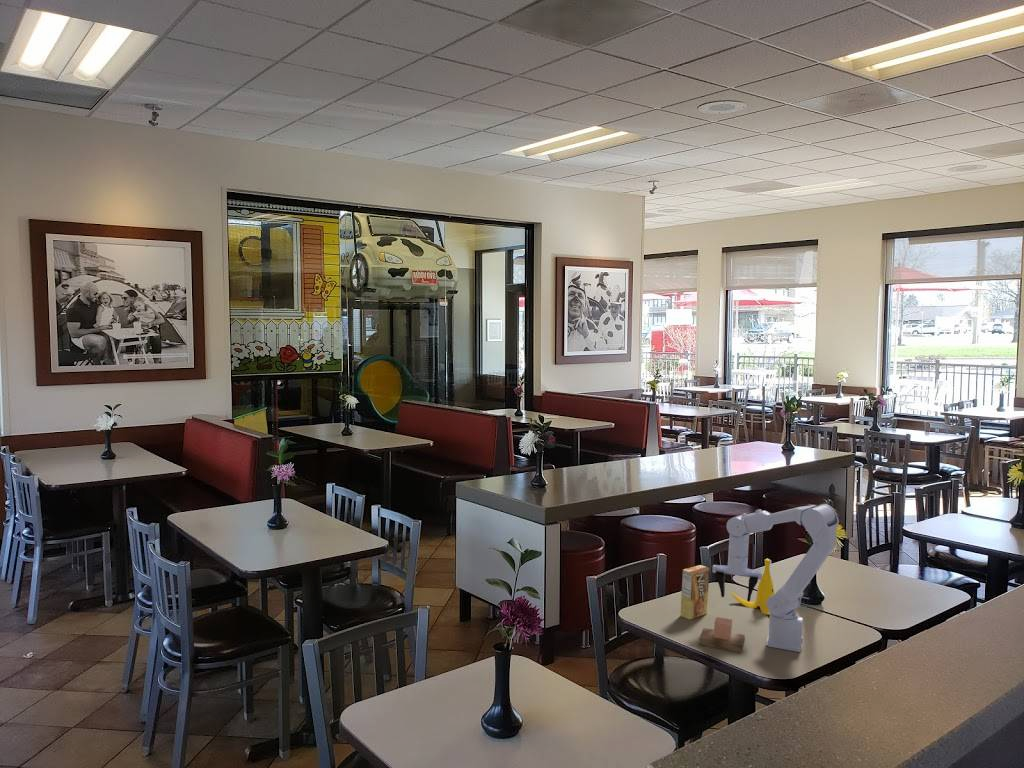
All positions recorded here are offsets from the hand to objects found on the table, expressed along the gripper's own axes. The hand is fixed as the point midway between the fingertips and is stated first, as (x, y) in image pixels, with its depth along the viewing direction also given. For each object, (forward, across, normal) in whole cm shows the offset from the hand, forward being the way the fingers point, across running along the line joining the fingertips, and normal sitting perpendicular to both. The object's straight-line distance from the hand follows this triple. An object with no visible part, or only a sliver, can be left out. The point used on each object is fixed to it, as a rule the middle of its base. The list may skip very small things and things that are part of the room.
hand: (735, 598), depth 235 cm
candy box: (+10, +13, -5) cm, 17 cm away
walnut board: (+9, +2, +13) cm, 16 cm away
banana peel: (+10, -5, -22) cm, 25 cm away
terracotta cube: (+7, +2, +13) cm, 15 cm away
